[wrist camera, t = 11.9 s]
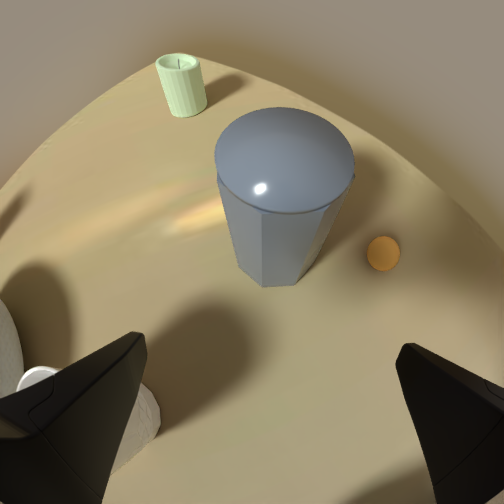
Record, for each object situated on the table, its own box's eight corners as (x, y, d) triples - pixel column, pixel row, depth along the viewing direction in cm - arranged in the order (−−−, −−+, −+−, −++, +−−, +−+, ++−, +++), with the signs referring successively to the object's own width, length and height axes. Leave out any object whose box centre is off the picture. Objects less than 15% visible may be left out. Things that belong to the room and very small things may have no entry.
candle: (207, 93, 32) (198, 44, 25) (207, 114, 31) (196, 61, 23) (172, 100, 32) (158, 53, 25) (169, 121, 31) (152, 70, 23)
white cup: (155, 362, 20) (85, 361, 11) (179, 448, 17) (128, 497, 8) (84, 372, 20) (6, 367, 11) (104, 449, 17) (36, 477, 8)
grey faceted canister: (308, 215, 25) (336, 108, 13) (317, 284, 22) (370, 208, 11) (236, 218, 25) (217, 110, 13) (238, 289, 22) (211, 214, 11)
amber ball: (397, 262, 23) (411, 250, 20) (377, 282, 22) (391, 271, 19) (376, 238, 24) (388, 223, 21) (355, 256, 23) (367, 243, 20)
